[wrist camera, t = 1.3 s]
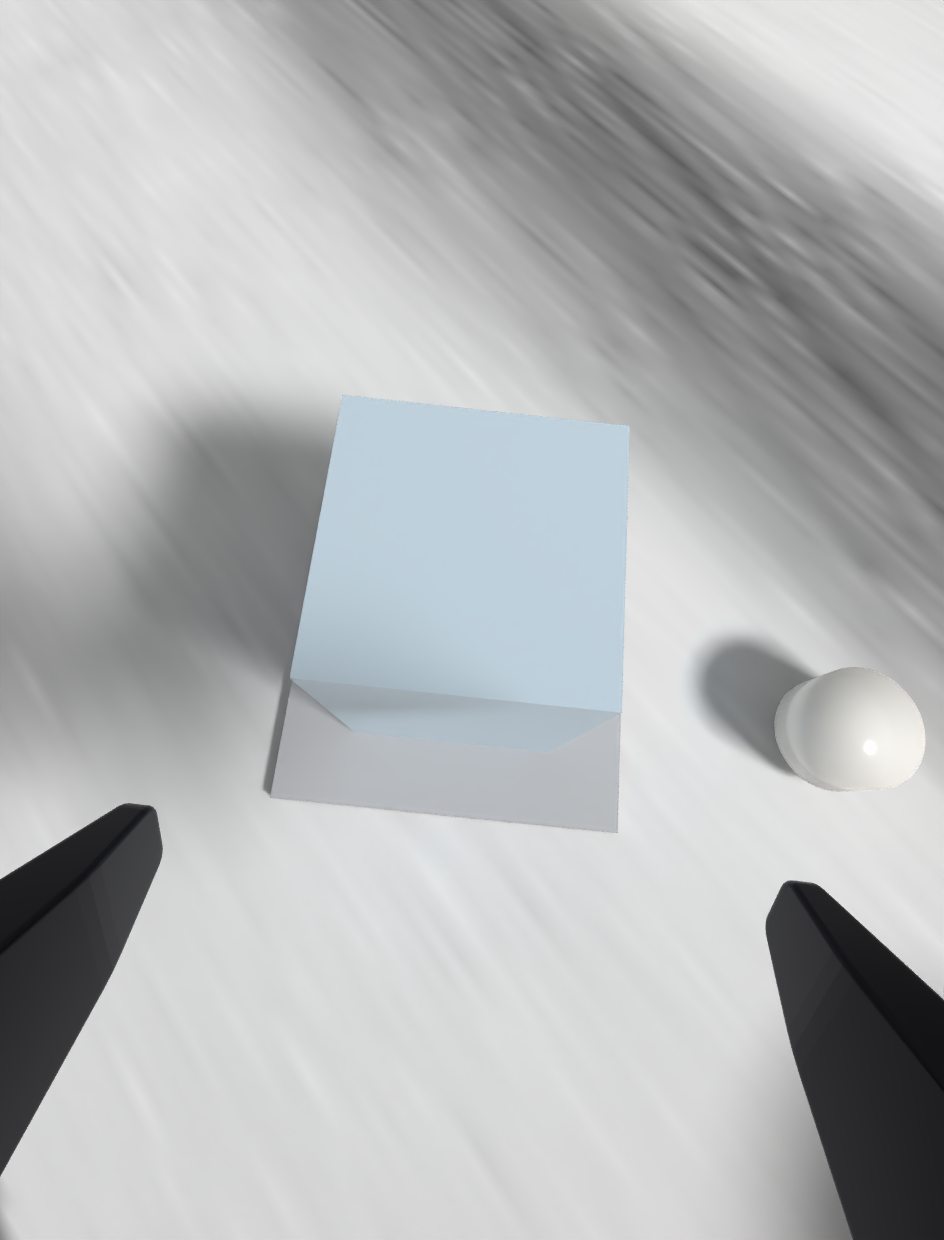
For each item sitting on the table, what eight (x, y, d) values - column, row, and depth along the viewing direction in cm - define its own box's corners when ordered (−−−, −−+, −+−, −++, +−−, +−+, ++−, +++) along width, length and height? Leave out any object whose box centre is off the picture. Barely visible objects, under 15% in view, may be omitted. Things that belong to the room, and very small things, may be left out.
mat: (614, 832, 22) (617, 833, 21) (273, 798, 22) (270, 797, 21) (623, 522, 25) (626, 518, 25) (329, 491, 25) (327, 486, 25)
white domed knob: (848, 813, 22) (902, 814, 20) (747, 755, 23) (786, 748, 20) (885, 717, 23) (941, 706, 21) (787, 664, 24) (830, 645, 21)
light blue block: (549, 752, 22) (622, 712, 13) (353, 731, 22) (289, 677, 13) (560, 569, 24) (629, 426, 15) (381, 550, 24) (342, 395, 15)
